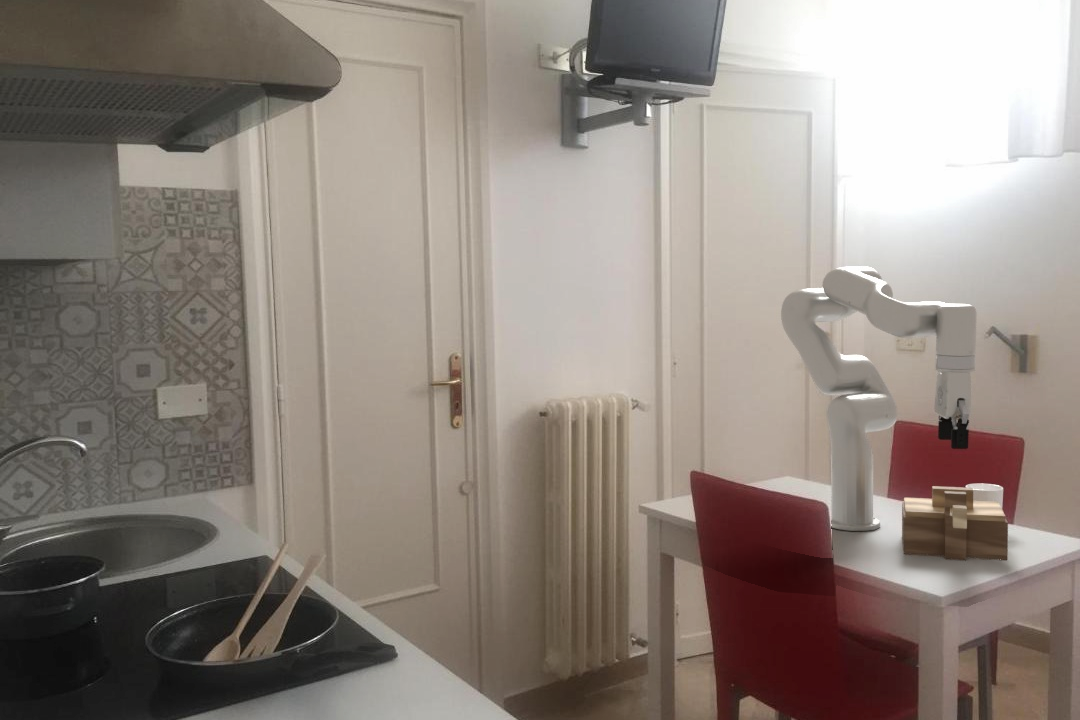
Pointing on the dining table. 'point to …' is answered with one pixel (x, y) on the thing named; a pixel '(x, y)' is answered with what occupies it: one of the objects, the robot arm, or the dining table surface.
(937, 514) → the lid
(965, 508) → the wooden key
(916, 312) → the robot arm
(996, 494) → the white cup
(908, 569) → the dining table surface
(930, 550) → the toolbox
